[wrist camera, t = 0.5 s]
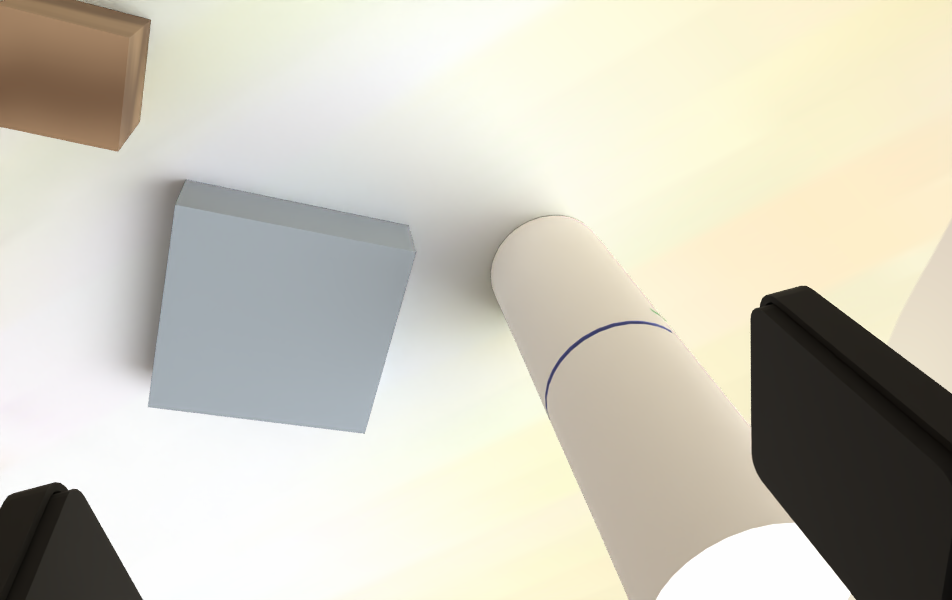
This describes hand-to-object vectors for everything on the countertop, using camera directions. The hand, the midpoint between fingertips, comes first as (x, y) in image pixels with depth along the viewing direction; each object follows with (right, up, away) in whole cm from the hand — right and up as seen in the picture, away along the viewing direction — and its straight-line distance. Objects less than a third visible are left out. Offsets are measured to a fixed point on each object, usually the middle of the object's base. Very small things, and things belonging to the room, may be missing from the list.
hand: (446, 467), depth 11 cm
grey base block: (-11, +3, +34) cm, 36 cm away
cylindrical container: (+5, +4, +36) cm, 37 cm away
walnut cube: (-18, +14, +26) cm, 35 cm away
